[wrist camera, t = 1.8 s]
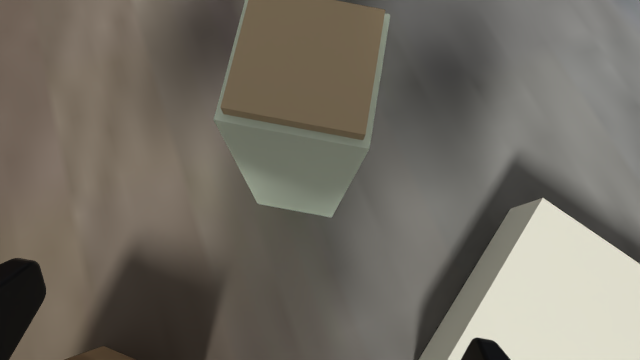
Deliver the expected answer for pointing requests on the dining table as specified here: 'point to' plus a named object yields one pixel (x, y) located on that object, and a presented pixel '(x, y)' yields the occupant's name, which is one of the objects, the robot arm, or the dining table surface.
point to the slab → (546, 294)
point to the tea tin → (302, 98)
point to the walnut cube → (101, 355)
